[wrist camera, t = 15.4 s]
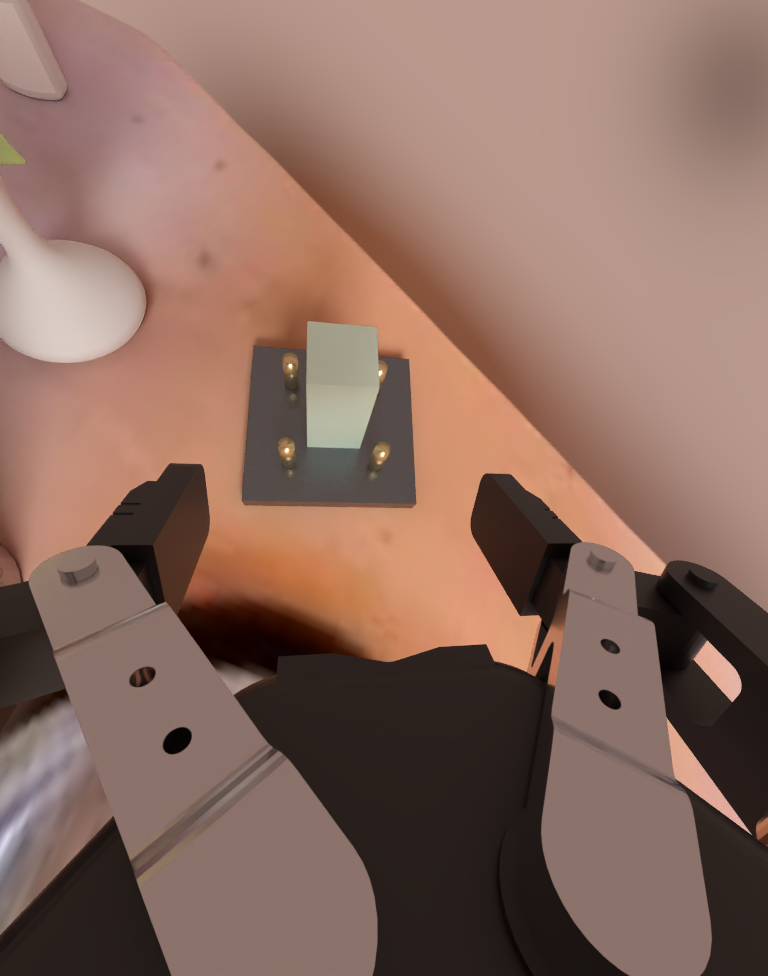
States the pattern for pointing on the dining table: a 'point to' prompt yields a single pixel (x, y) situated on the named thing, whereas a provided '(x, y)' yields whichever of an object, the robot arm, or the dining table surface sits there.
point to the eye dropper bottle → (27, 54)
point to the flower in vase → (61, 290)
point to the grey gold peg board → (316, 470)
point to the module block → (340, 383)
